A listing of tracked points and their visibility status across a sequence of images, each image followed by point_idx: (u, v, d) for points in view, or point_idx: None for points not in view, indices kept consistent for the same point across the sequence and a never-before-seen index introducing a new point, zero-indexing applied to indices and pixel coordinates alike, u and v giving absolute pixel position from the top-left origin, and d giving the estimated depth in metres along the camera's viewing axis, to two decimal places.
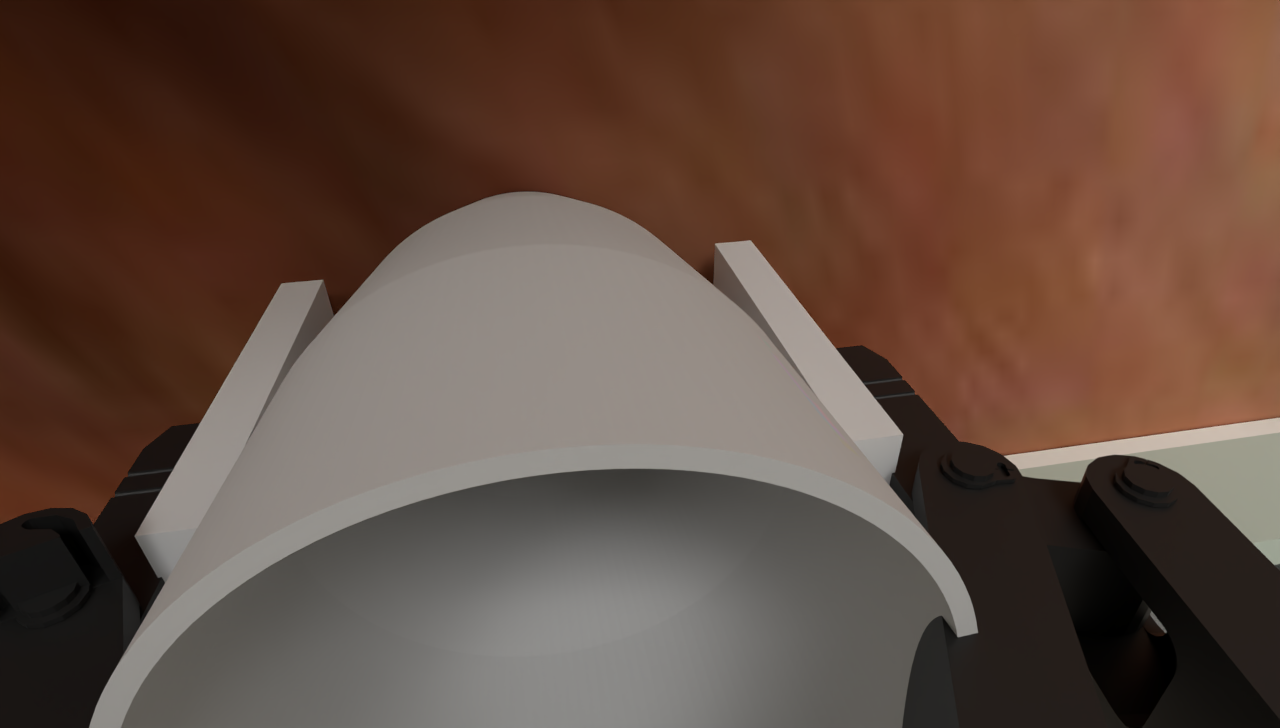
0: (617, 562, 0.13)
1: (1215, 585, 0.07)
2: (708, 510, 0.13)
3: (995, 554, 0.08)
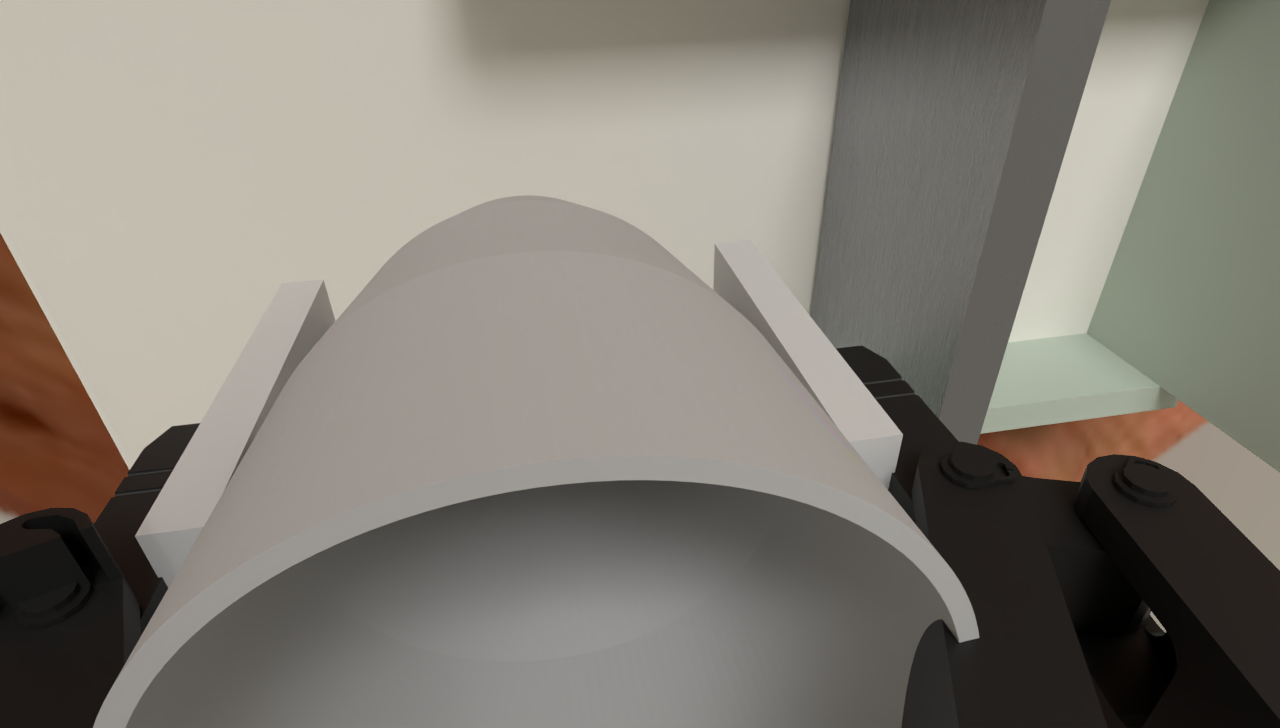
0: (618, 566, 0.13)
1: (1215, 585, 0.07)
2: (708, 514, 0.13)
3: (994, 554, 0.08)
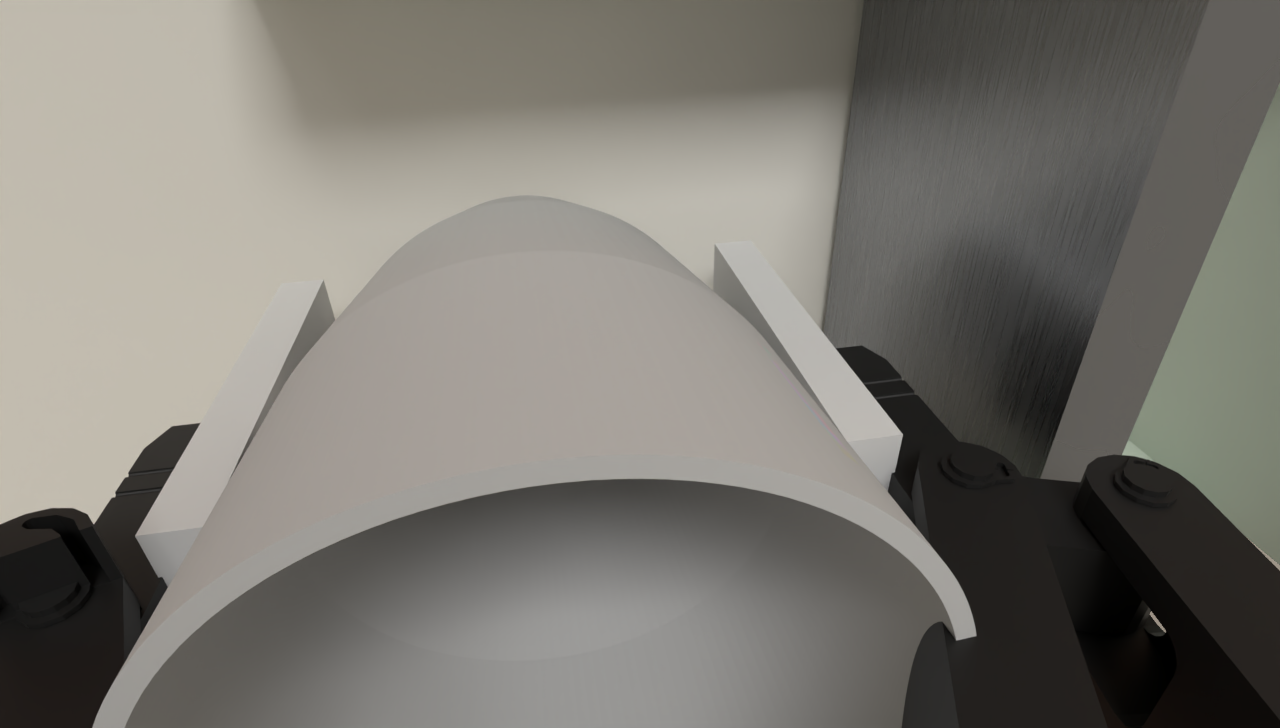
0: (617, 566, 0.13)
1: (1215, 585, 0.07)
2: (707, 514, 0.13)
3: (995, 554, 0.08)
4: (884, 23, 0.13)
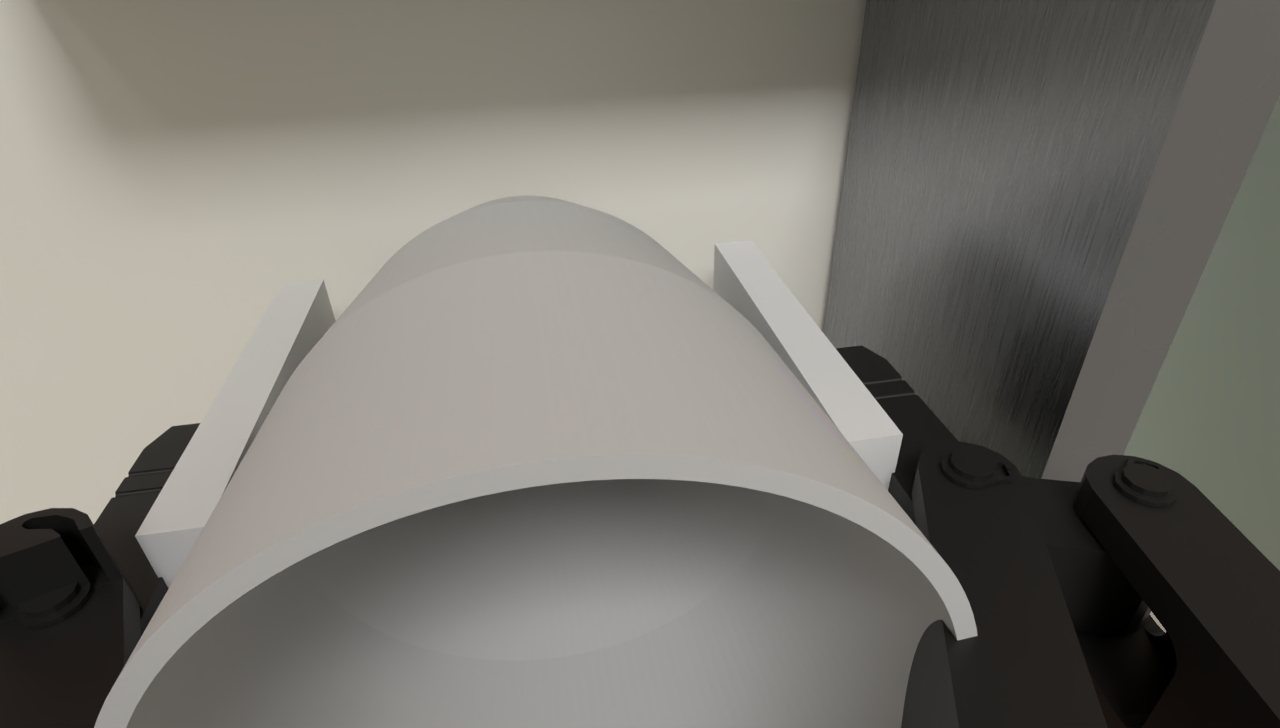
0: (617, 566, 0.13)
1: (1215, 585, 0.07)
2: (708, 514, 0.13)
3: (995, 554, 0.08)
4: (887, 23, 0.13)
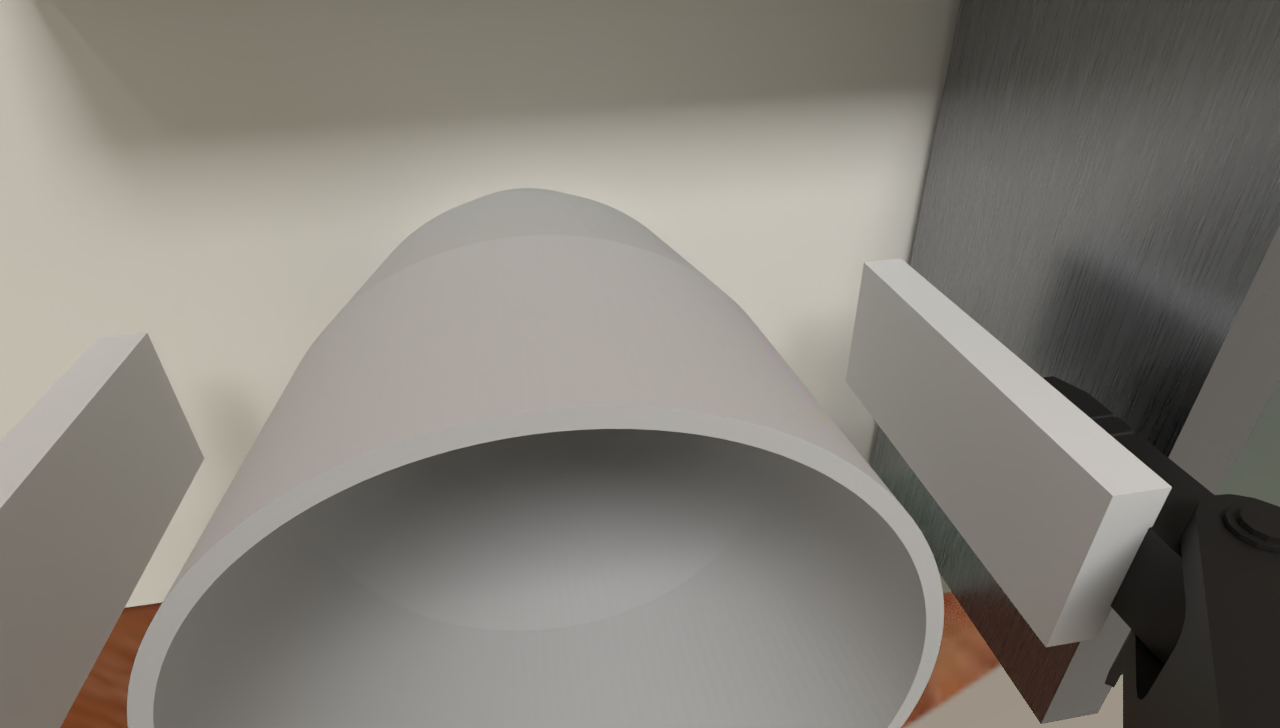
0: (614, 543, 0.14)
1: None
2: (701, 492, 0.13)
3: None
4: (985, 27, 0.13)
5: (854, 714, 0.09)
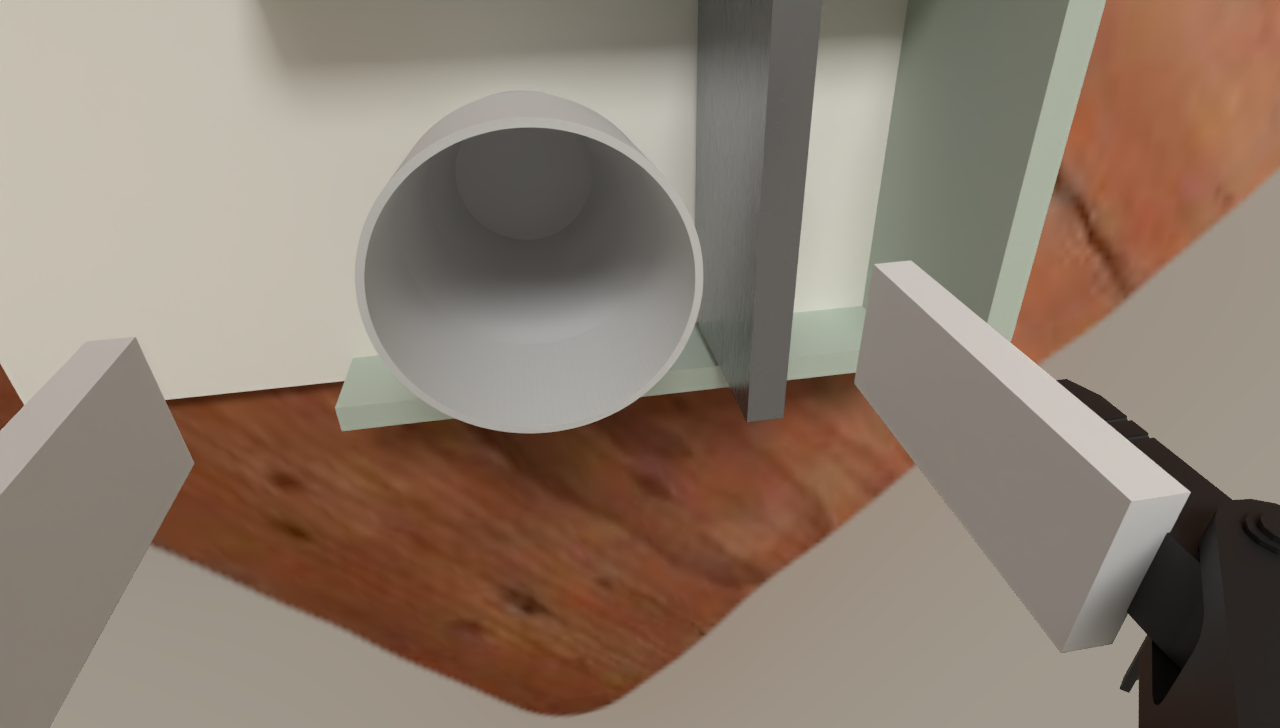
0: (572, 307, 0.23)
1: None
2: (622, 272, 0.23)
3: None
4: (705, 5, 0.22)
5: (677, 328, 0.19)
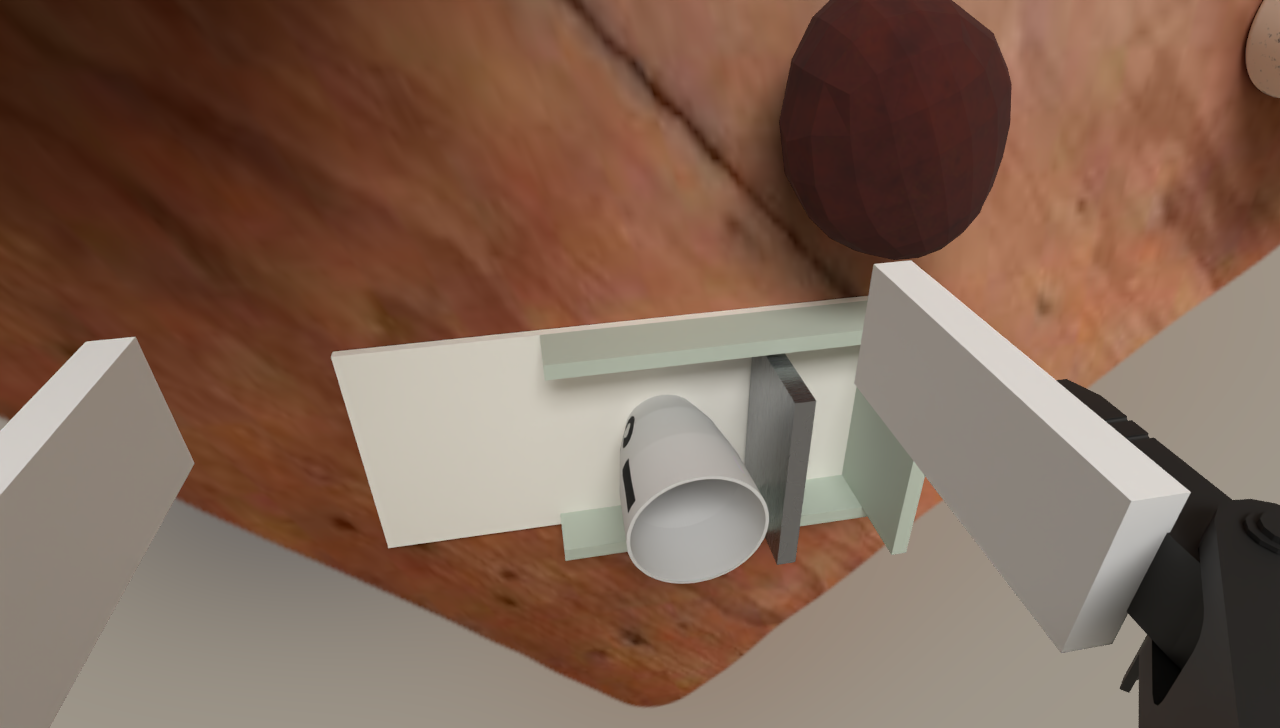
0: (693, 504, 0.46)
1: None
2: (719, 489, 0.45)
3: None
4: (757, 359, 0.45)
5: (755, 537, 0.41)
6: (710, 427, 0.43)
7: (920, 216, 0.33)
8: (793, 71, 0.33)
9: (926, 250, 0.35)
